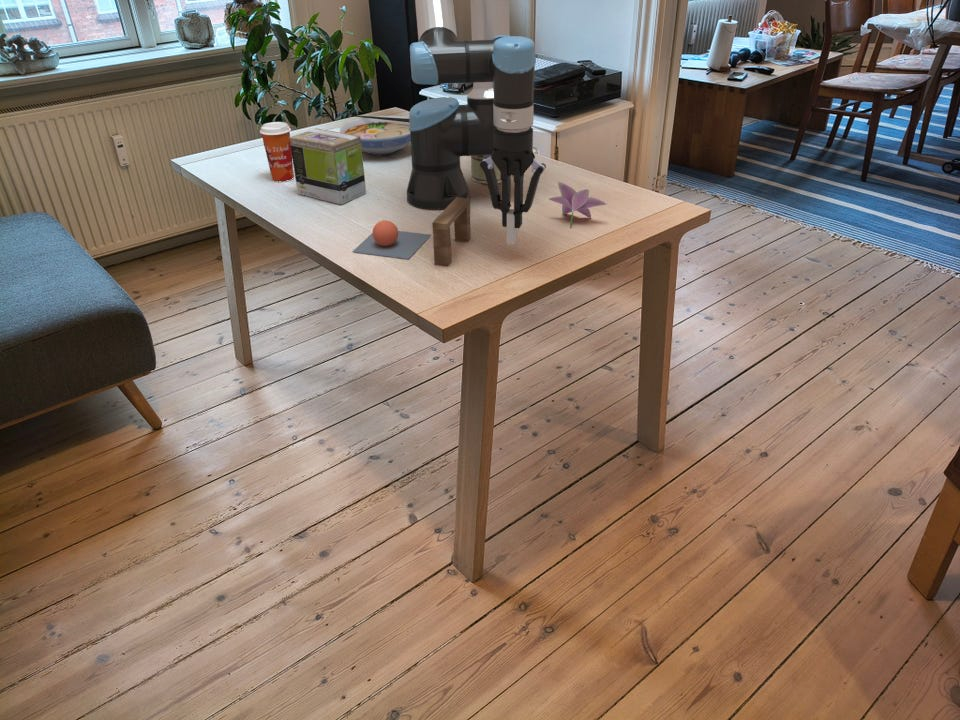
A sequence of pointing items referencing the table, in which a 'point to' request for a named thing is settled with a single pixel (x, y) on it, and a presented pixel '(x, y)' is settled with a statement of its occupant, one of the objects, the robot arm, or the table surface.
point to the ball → (385, 233)
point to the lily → (575, 201)
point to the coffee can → (478, 173)
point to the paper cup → (278, 150)
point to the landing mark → (394, 246)
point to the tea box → (328, 165)
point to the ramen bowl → (379, 133)
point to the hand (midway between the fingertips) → (511, 241)
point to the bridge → (441, 229)
